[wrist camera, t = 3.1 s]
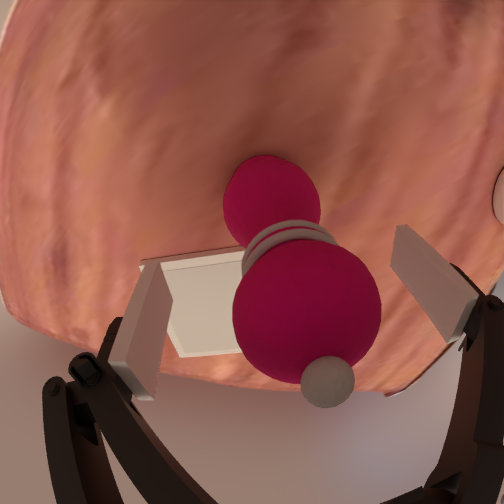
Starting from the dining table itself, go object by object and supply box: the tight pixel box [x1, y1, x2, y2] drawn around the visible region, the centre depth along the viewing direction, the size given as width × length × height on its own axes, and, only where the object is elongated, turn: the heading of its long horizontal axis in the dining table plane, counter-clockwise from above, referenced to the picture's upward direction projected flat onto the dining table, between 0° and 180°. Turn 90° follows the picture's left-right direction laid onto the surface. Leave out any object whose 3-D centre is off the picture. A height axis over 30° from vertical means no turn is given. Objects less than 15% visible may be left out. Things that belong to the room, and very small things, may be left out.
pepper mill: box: [223, 155, 381, 408], centre depth 16 cm, size 7×7×20 cm
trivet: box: [139, 246, 246, 358], centre depth 31 cm, size 15×15×1 cm
